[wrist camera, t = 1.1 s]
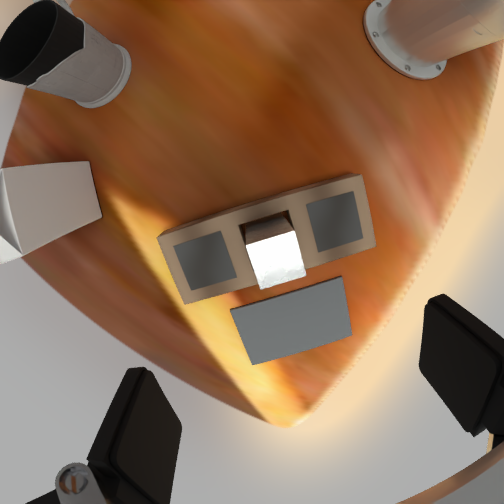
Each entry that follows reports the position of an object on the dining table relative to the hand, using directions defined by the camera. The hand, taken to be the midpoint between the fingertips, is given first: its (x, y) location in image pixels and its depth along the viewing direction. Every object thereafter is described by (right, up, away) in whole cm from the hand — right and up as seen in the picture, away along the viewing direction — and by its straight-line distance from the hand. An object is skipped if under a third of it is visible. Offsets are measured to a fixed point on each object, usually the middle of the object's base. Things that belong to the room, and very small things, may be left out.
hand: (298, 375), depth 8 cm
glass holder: (-20, +28, +16) cm, 38 cm away
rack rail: (0, +6, +23) cm, 24 cm away
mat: (+4, -5, +27) cm, 28 cm away
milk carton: (-23, +11, +21) cm, 33 cm away
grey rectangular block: (0, +6, +23) cm, 24 cm away
